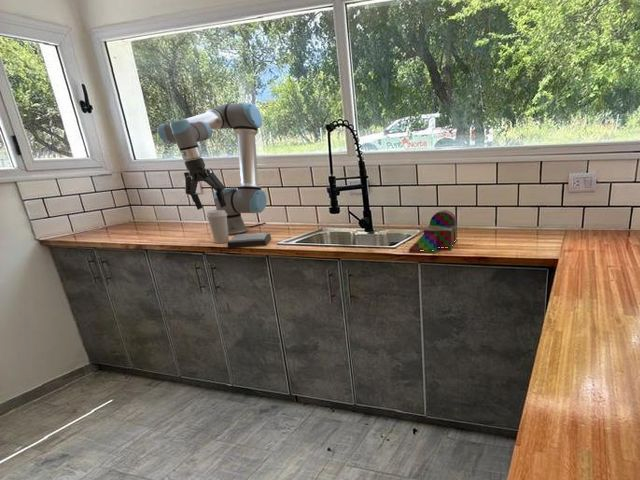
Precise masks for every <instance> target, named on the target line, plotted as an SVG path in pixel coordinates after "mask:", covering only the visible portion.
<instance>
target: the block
mask: <svg viewBox="0 0 640 480" xmlns="http://www.w3.org/2000/svg"><path fill="white" fill-rule="evenodd" d="M456 238H457V239H456ZM455 240H456V241H455ZM454 241H455V242H454ZM457 242H458V221H457V216H456V215H455V214H454V213H453V212H452V211H450V210H447V209H442V210H441V209H440V210H439V211H437V212H436V213H434V214H433V215H432V217H431V218H430V221H429V224H428V226H427V227H426V228H425V229H423V234H422V235H421V236H420V237H419V238H418V240H417V241H415V243H413V245H412V246H410V248H409V251H408V252H409V253H411V254H415V253H416V254H436V253H437V252H438V251H452V250H453V248H454V246H455V244H456V243H457ZM452 245H453V246H452ZM438 247H440V248H438ZM441 247H444V248H441ZM445 247H448V248H445ZM420 250H424V251H420ZM432 250H434V251H432Z"/></svg>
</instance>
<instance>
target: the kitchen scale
mask: <svg viewBox="0 0 640 480" xmlns="http://www.w3.org/2000/svg"><path fill="white" fill-rule="evenodd" d="M271 236H272V235H271V233H269V232H258V233H240V234H234V236H233V237H232V238H231V239H229V242H227V244H226V245H227V248H228V249H232V248H233V249H234V248H235V249H236V248H247V247H248V248H249V247H264V246H265V247H266V246H267V245H268V244H269V242H270V241H271V239H272V237H271Z"/></svg>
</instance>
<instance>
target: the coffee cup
mask: <svg viewBox="0 0 640 480" xmlns="http://www.w3.org/2000/svg"><path fill="white" fill-rule="evenodd" d="M205 217H206V218H207V221H208V224H209V228H210V231H211V234H212V238H213V242H214V244H226V243H228V242H229V241H230V238H229V237H230V236H229V235H228V226H227V213H226V212H225V210H217V209H214V210H208V211H206V214H205Z"/></svg>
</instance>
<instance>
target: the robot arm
mask: <svg viewBox="0 0 640 480" xmlns="http://www.w3.org/2000/svg"><path fill="white" fill-rule="evenodd" d="M262 126H263V117H262V113H261V111H260V109H259V108H258V106H257V105H255V104H254V103H251V102H239V103H237V102H236V103H225V104H220V105H218V106H215V107H212V108H209V109H206V110H205V111H204V112H203V113H200V114H197V115H194V116H190V117H187V118H184V119H180V120H175V121H171V122H170V123H168V122H167V123H166V122H165V123H161V124H159V125H158V126H157V135H158V138H159V139H160V140H161V141H163V142H166V143H176V144H177V147H178V149H179V153H180V155H181V157H182V160H183V161H184V165H185V167H186V170H187V171H185V172H183V176H184V182H185V184H184V185H185V186H184V187H185V188H184V189H185V194H186V195H189V196H190V197H191V199H192V202H193V203H194V204H195V207H196V210H197V211H198V210H199V211H200V210H201V209H203V208H204V207H203V204H202V202H201V199H200V197H199V194H198V193H197V188H198V184H199V182H204V183H206V184H207V185H209V186H210V188H212V189H213V190H214V191H213V198H214V199H213V200H214V204H215V208H216V209H215V210H225V212H226V213H227V226H228V236H231V235H237V234H245V233H246V232H248V229H247V228H256V227H258V226H262V225H266V224H267V223H266V222H263V223H259V224H254V225H253V224H252V225H246V224H245V222H244V220H243V218H242V214H260V213H263V212H264V210H265V208H266V206H267V202H268V201H267V199H268V197H267V194H266V191H264V190H262V186H261V185H260V184H259V179H258V178H259V177H258V162H257V149H256V148H257V145H256V135H257V134H259V129H260V128H261V127H262ZM222 129H229V130H230V129H231V130H232V129H233V132H234V133H235V134H236V139H237V153H238V166H239V167H238V168H239V169H238V170H239V184H238V185H237V187H230V188H226V187H225V185H224V184H223V183H222V182H221V180H220V179H219V177H218V176H217V175H216V174H215V173H214V171H213V169H212V168H211V167H210V168H208V169H206V164H205V160H204V158H203V157H202V153H201V150H200V148H199V145H198V143H199V142H203V141H206V140H209V139H211V137H212V136H213V130H215V131H217V130H218V131H219V130H222Z"/></svg>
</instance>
